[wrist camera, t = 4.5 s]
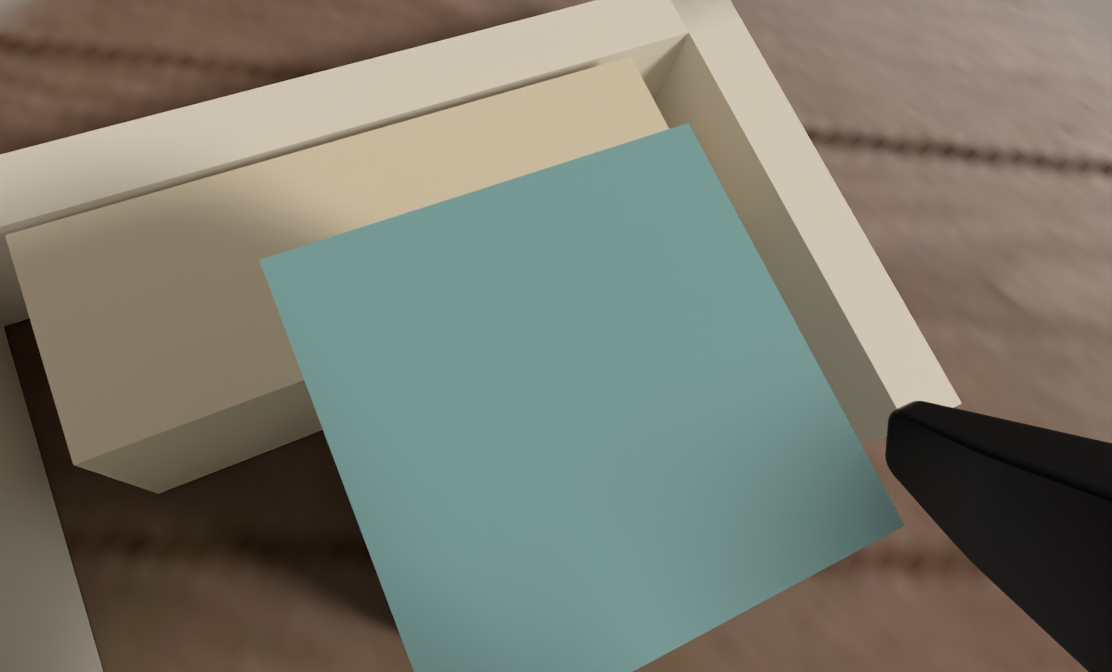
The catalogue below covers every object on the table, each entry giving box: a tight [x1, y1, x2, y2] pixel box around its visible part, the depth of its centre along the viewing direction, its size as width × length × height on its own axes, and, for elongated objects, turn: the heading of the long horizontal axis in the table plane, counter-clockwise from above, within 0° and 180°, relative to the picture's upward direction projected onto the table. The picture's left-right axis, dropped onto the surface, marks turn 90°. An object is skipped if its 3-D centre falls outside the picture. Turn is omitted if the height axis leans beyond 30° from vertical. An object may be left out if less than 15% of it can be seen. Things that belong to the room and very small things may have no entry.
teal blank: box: [259, 123, 905, 672], centre depth 13 cm, size 4×4×12 cm
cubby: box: [0, 0, 962, 672], centre depth 17 cm, size 12×20×4 cm, turn 114°
